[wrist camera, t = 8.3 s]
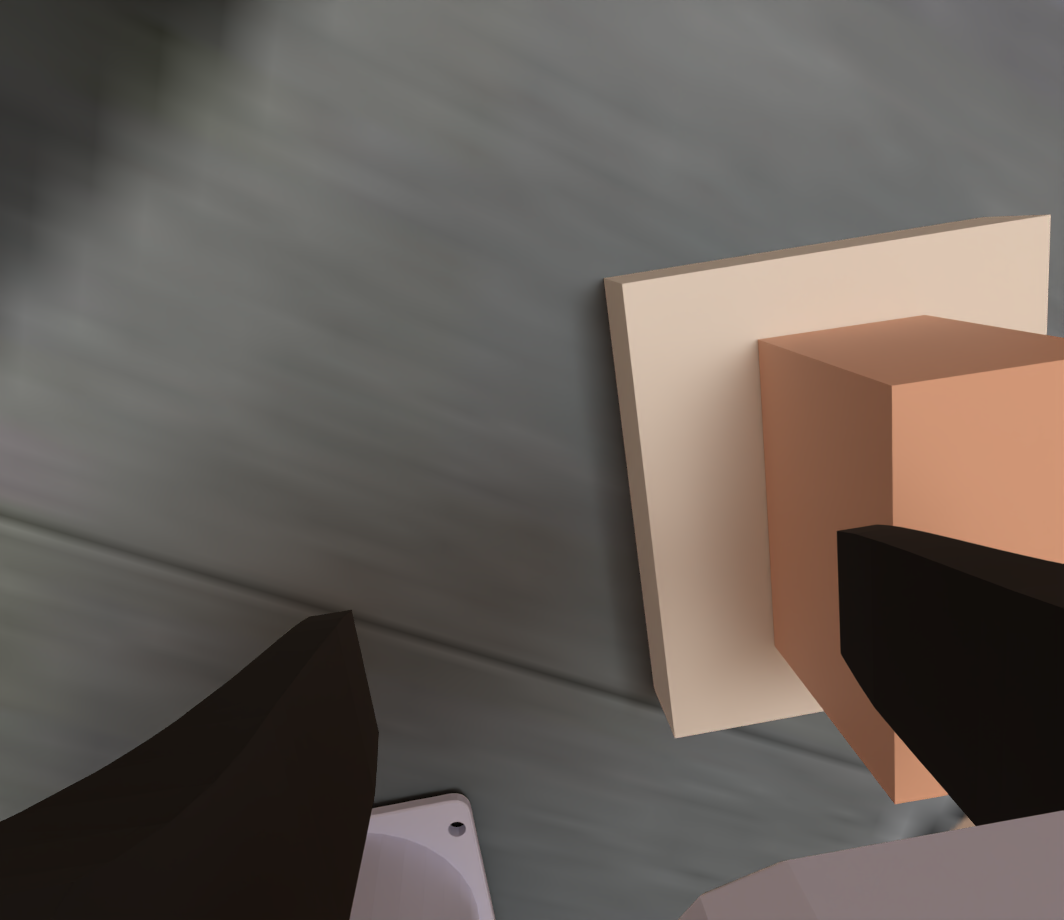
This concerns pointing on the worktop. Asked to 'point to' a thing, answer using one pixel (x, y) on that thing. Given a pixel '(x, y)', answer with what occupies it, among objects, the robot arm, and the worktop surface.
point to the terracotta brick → (900, 478)
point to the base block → (737, 431)
